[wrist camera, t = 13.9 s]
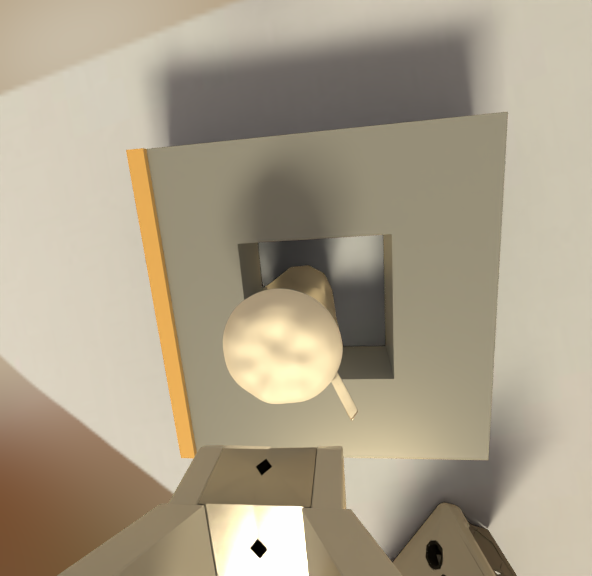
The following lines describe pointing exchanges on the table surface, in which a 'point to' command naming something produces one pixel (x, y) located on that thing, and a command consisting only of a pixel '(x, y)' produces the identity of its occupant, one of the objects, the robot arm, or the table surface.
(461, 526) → the electrical switch
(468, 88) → the table surface
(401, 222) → the socket block
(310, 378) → the milkshake
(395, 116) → the table surface
